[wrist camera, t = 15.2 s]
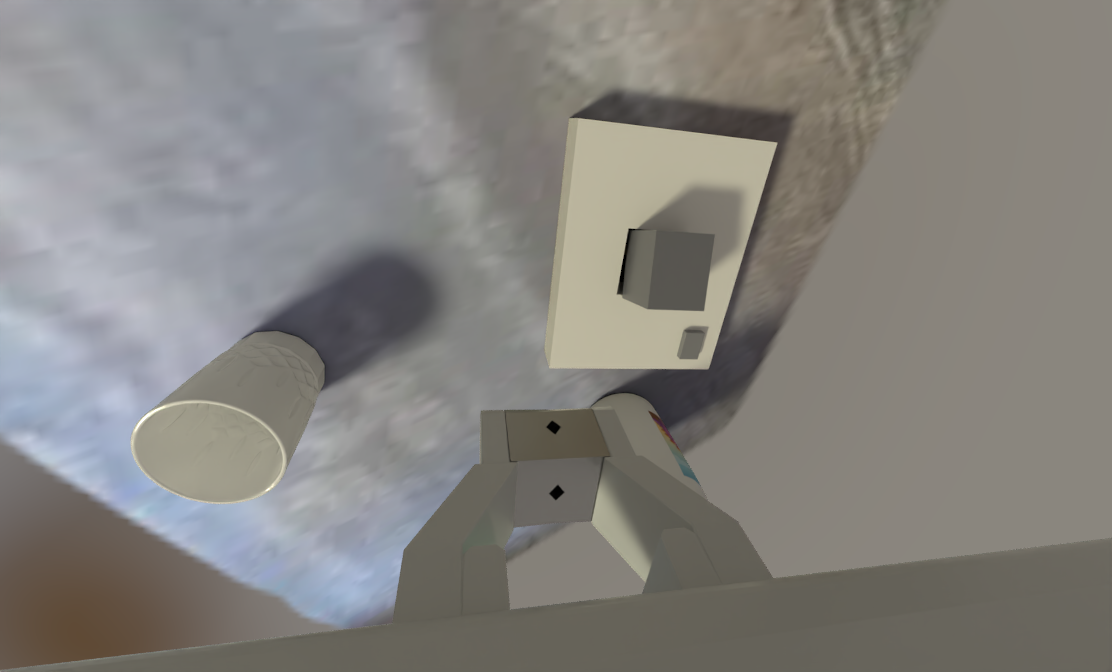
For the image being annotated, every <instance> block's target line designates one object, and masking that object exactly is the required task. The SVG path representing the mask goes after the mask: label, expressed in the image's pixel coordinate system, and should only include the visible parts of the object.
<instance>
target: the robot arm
mask: <svg viewBox="0 0 1112 672" xmlns="http://www.w3.org/2000/svg"><path fill="white" fill-rule="evenodd" d="M586 521H592V524H593V525H594V526H595V528H597V530H598V531H599V532H600V533H601V534H602V535H603V536H604V537H605V539H606V540H607V541H608V542H609V543H610V544H611V545H612V546H613V547H614V548H615V549H616V551H617V552H618V553H619V554H620V555H621V556H622V557H623V558H624V559H625V560H626V562H627V563H628V564H629V565H630V566H631V567H632V568H633V569H634V570H635V572H636V573H637V574H638V575H639V576H640V577H641V578H642V579H643V580H644V581H645V586H644V590H643V593H642V594H638V595H630V596H622V597H613V598H605V599H596V600H587V601H579V602H571V603H562V604H553V605H546V606H537V607H528V608H520V609H511V610H510V603H509V592H508V579H507V568H506V556H505V550H504V547H505V545H506V543H507V541H508V539H509V538H510V536H511V534H512V532H513V528H514V527H523V526H532V525H541V524H550V523H567V522H586ZM0 672H1112V538H1108V539H1100V540H1091V541H1083V542H1074V543H1067V544H1058V545H1050V546H1041V547H1033V548H1025V549H1016V550H1008V551H1000V552H991V553H983V554H974V555H965V556H957V557H948V558H940V559H932V560H924V561H915V562H906V563H898V564H889V565H882V566H872V567H864V568H856V569H847V570H839V571H830V572H822V573H813V574H806V575H796V576H788V577H780V578H773V577H772V575H771V574H770V572H769V570H768V569H767V567H766V566H765V564H764V562H763V561H762V559H761V558H760V556H759V555H758V553H757V551H756V550H755V548H754V546H753V545H752V543H751V542H750V540H749V538H748V537H747V535H746V534H745V532H744V530H743V529H742V527H741V526H740V524H739V522H738V521H737V520H735V519H734V518H732V517H731V516H729V515H728V514H726V513H725V512H723V511H722V510H720V509H719V508H718V507H716V506H715V505H713V504H712V503H710V502H709V501H708V500H706V499H705V498H703V497H702V496H700V495H699V494H697V493H696V492H695V491H693V490H692V489H690V488H689V487H687V486H686V485H684V484H683V483H681V482H680V481H679V480H677V479H676V478H674V477H673V476H671V475H670V474H668V473H667V472H666V471H664V470H663V469H661V468H660V467H658V466H657V465H655V464H654V463H652V462H651V461H650V460H648V459H647V458H645V457H644V456H636V455H635V452H634V450H633V448H632V446H631V444H630V442H629V440H628V438H627V435H626V433H625V431H624V429H623V427H622V425H621V423H620V420H619V418H618V416H617V414H616V412H615V410H614V408H612V407H593V408H586V409H557V410H504V411H503V410H483V411H481V414H480V464H475V465H474V466H473V467H472V468H471V469H470V471H469V472H468V473H467V474H466V476H465V477H464V478H463V479H462V480H461V482H460V483H459V484H458V485H457V486H456V488H455V489H454V490H453V491H452V492H451V494H450V495H449V496H448V497H447V498H446V500H445V501H444V502H443V503H442V504H441V506H440V507H439V508H438V509H437V511H436V512H435V513H434V514H433V515H432V517H431V518H430V519H429V520H428V521H427V523H426V524H425V525H424V526H423V527H422V529H421V530H420V531H419V532H418V533H417V535H416V536H415V537H414V538H413V539H412V541H411V542H410V543H409V544H408V546H407V547H406V548H405V549H404V552H403V558H402V565H401V571H400V577H399V583H398V590H397V596H396V602H395V609H394V615H393V621H392V624H385V625H376V626H368V627H360V628H351V629H343V630H334V631H327V632H318V633H309V634H301V635H293V636H284V637H276V638H267V639H259V640H250V641H242V642H234V643H225V644H217V645H209V646H200V647H191V648H183V649H175V650H166V651H158V652H150V653H141V654H133V655H124V656H116V657H108V658H99V659H91V660H83V661H74V662H65V663H57V664H49V665H40V666H32V667H23V668H15V669H7V670H0Z"/></svg>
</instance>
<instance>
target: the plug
mask: <svg viewBox="0 0 1112 672" xmlns="http://www.w3.org/2000/svg"><path fill="white" fill-rule="evenodd" d="M714 237H715V234H702V233H688V232H674V231H660V230H629V234H628V244H626V245H625V251H624V255H626V265H625V275H624V285H623V295H622V298H623V299H625V300H628V301H630V302H632V303H634V304H637V305H639V306H641V307H644V308H646V309H652V310H682V311H704V308H705V301H706V294H707V287H708V280H709V273H710V266H711V259H712V252H713V245H714Z"/></svg>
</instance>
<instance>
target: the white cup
mask: <svg viewBox="0 0 1112 672" xmlns="http://www.w3.org/2000/svg"><path fill="white" fill-rule="evenodd" d="M324 382H325V365H324V363H323V362H322V360H321V358H320V356H319V355H318V353H317V351H316V350H315V349H314V348H313V347H311V346H310V345H309V344H307V343H306V342H305V341H303V340H302V339H301V338H299V337H296V336H293V335H289V334H286V333H283V332H279V331H268V332H255V333H253V334H251V335H249V336H248V337H246V338H244V339H242V340H240V341H238V342H237V343H236V344H234V345H233V346H232V347H231V348H230V349H229V350H227V351H225V352H224V353H222V354H221V355H219V356H218V357H216V358H215V359H214V360H213V361H211V362H210V363H209V364H208V365H206V366H205V367H204V368H202V369H201V370H200V371H198V372H197V373H196V374H194V375H193V376H192V377H191V378H189V379H188V380H187V381H186V382H185V383H183V384H182V385H181V386H180V387H178V388H177V389H176V390H175V391H174V392H172V393H171V394H170V395H169V396H167V397H166V398H165V399H164V400H163V401H161V402H160V403H159V404H158V405H156V406H155V407H154V408H153V409H151V410H150V411H149V412H148V413H146V414H145V415H144V416H143V417H142V418H141V419H140V420H139V421H138V423H137V424H136V426H135V427H134V430H133V432H132V436H131V450H132V454H133V457H134V459H135V461H136V463H137V465H138V466H139V468H140V469H141V470H142V471H143V473H144V474H145V475H146V476H147V477H148V478H150V479H151V480H152V481H153V482H154V483H156V484H157V485H159V486H160V487H162V488H164V489H165V490H167V491H169V492H171V493H173V494H176V495H178V496H181V497H184V498H187V499H190V500H194V501H199V502H204V503H213V504H231V503H239V502H244V501H248V500H252V499H255V498H257V497H259V496H262V495H264V494H265V493H267V492H269V491H270V490H271V489H273V488H274V487H275V486H276V485H277V484H278V483H279V482H280V480H281V479H282V477H283V475H284V473H285V471H286V469H287V467H288V465H289V462H290V460H291V458H292V456H293V454H294V452H295V450H296V448H297V445H298V443H299V441H300V439H301V437H302V435H303V433H304V430H305V428H306V426H307V423H308V421H309V418H310V416H311V414H312V412H313V409H314V407H315V403H316V400H317V397H318V395H319V393H320V391H321V389H322V387H323V384H324Z"/></svg>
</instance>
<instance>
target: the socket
mask: <svg viewBox="0 0 1112 672" xmlns="http://www.w3.org/2000/svg"><path fill="white" fill-rule="evenodd" d="M776 146H777V143H776V142H767V141H759V140H751V139H743V138H735V137H727V136H719V135H711V134H703V133H695V132H687V131H679V130H670V129H662V128H654V127H646V126H638V125H630V124H622V123H614V122H606V121H598V120H590V119H581V118H569V125H568V134H567V144H566V153H565V162H564V172H563V181H562V190H561V200H560V209H559V218H558V228H557V237H556V246H555V256H554V265H553V274H552V283H551V293H550V302H549V311H548V321H547V330H546V339H545V349H544V351H545V354H546V358H547V361H548V364H549V368H606V369H709V367H710V363H711V360H712V357H713V353H714V350H715V347H716V343H717V340H718V337H719V334H720V330H721V327H722V324H723V320H724V317H725V314H726V311H727V307H728V304H729V301H730V297H731V294H732V291H733V287H734V284H735V281H736V278H737V274H738V271H739V268H740V264H741V261H742V258H743V254H744V251H745V248H746V245H747V241H748V238H749V235H750V231H751V228H752V225H753V221H754V218H755V215H756V212H757V208H758V205H759V202H760V198H761V195H762V192H763V189H764V185H765V182H766V179H767V175H768V172H769V169H770V165H771V162H772V159H773V156H774V152H775V149H776ZM628 228H631V229H644V230H660V231H674V232H688V233H702V234H715V237H714V245H713V252H712V259H711V266H710V273H709V280H708V287H707V294H706V301H705V308H704V311H682V310H652V309H646V308H644V307H641V306H639V305H637V304H634V303H632V302H630V301H628V300H625V299H623V298H622V295H623V285H624V282H619V278H620V273H621V267H622V262H623V256H624V251H625V245H626V239H627V234H628Z"/></svg>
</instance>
